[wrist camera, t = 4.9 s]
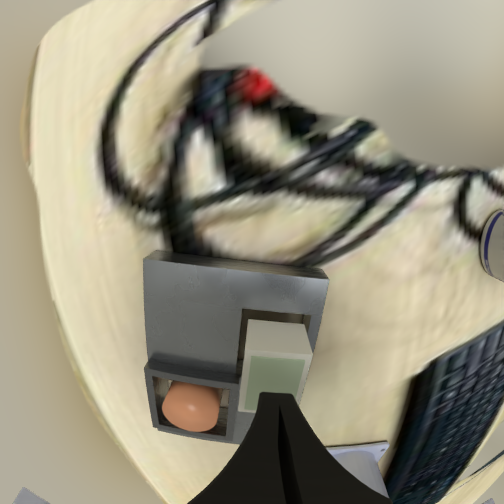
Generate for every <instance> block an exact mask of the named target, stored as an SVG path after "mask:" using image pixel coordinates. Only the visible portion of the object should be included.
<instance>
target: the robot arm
mask: <svg viewBox="0 0 504 504" xmlns="http://www.w3.org/2000/svg"><path fill="white" fill-rule="evenodd" d="M388 447H389V443H388V442H381V443H373V444H365V445H356V446H345V447H330V448H325V447H324V445H323V444H322V443H321V441H320V440H319V439H318V437H317V436H316V434H315V433H314V432H313V430H312V428H311V427H310V425H309V424H308V422H307V421H306V419H305V417H304V415H303V414H302V412H301V410H300V408H299V406H298V404H297V402H296V400H295V398H294V396H293V394H292V393H274V392H261V393H259V399H258V405H257V410H256V413H255V416H254V418H253V421H252V423H251V426H250V428H249V430H248V432H247V434H246V436H245V437H244V439H243V441H242V443H241V444H240V446H239V448H238V449H237V451H236V452H235V454H234V455H233V457H232V458H231V459H230V461H229V462H228V463H227V465H226V466H225V467H224V468H223V470H222V471H221V472H220V473H219V474H218V475H217V476H216V478H215V479H214V480H213V481H212V482H211V483H210V484H209V485H208V486H207V487H206V488H205V489H204V490H203V491H201V492H200V493H199V494H198V495H197V496H196V497H194V498H193V499H192V500H191V501H190V502H188V503H187V504H393V503H392V501H391V499H389V497H388V494H387V491H386V488H385V485H384V482H383V479H382V476H381V473H380V470H379V467H378V464H377V463H378V461H379V460H380V458H381V457H382V456H383V454H384V453H385V451H386V450H387V448H388ZM13 504H50V503H48V502H47V501H45V500H44V499H42V498H40V497H39V496H37V495H36V494H34V493H33V492H31V491H30V490H28V489H27V488H25V487H23V488H22V490H21V491H20V493H19V494H18V496H17V497H16V499H15V501H14V502H13ZM482 504H495V503H494V501H493V499H492V498H491V499H489V500H487V501H485V502H484V503H482Z"/></svg>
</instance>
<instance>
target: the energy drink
mask: <svg viewBox="0 0 504 504" xmlns="http://www.w3.org/2000/svg"><path fill="white" fill-rule="evenodd" d="M480 253H481V260H482V263H483V266H484V268H485V271H486V272H487V273H488V274H489V275H491V276H493V277H495V278H497V279H499V280H501V281H503V282H504V210H503V209H501V210H498V211H496V212H495V213H494V214H493V215H492V216H491V217H490V218H489V220H488V221H487V223H486V225H485V227H484V230H483V233H482V237H481V244H480Z"/></svg>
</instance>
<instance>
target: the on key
mask: <svg viewBox="0 0 504 504" xmlns="http://www.w3.org/2000/svg"><path fill="white" fill-rule="evenodd" d="M312 356H313V353H312V350H311V346H310V343H309V339H308V336H307V332H306V329H305V325H304V324H296V323H284V322H273V321H263V320H253V319H248V326H247V335H246V344H245V352H244V361H243V370H242V378H241V388H240V397H239V406H238V411H240V412H251V413H256V410H257V405H258V399H259V393H261V392H274V393H292V394H293V396H294V398H295V400H296V402H297V404H298V406H299V404H300V400H301V397H302V393H303V390H304V386H305V383H306V379H307V375H308V372H309V368H310V364H311V360H312Z"/></svg>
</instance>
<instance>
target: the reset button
mask: <svg viewBox="0 0 504 504" xmlns="http://www.w3.org/2000/svg"><path fill="white" fill-rule="evenodd" d="M222 392H223V388H216V387H210V386H203V385H197V384H191V383H185V382H180V381H175V380H173V381H172V383H171V386H170V388H169V390H168V393H167V395H166V397H165V400H164V402H163V404H162V410H163V413H164V415H165V417H166V418H167V419H168V420H169V421H170V422H171V423H172V424H174V425H175V426H177V427H179V428H181V429H184V430H188V431H193V432H201V431H207V430H209V429H211V428H213V427H214V426H215V425H216V423H217V419H218V414H219V408H220V403H221V398H222Z"/></svg>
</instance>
